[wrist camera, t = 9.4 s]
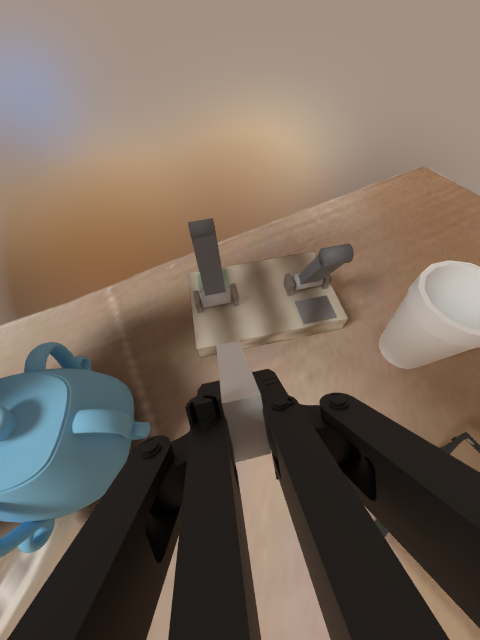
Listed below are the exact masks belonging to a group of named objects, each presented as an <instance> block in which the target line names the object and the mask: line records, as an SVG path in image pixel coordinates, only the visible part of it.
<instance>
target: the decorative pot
mask: <svg viewBox="0 0 480 640" xmlns="http://www.w3.org/2000/svg"><path fill="white" fill-rule="evenodd" d="M49 353H50V354H51V355H52V356H53V357H54V358H55V359H56V360H57V361H58V363H59V364H60V365H61V366H62V369H48V370H46V369H45V367H46V361H47V357H48V355H49ZM24 371H25V373H21V374H17V375H12V376H8V377H4V378H1V379H0V521H5V522H18V523H20V522H23V523H22V524H20V525H19V526H18V527H16V528H15V529H13V530H12V531H11V532H9V533H8V534H6V535H5V536H4V537H2V538H1V539H0V558H1V557H3V556H4V555H6V554H7V553H9V552H10V551H12V550H13V549H15V548H16V547H17V546H18V548H19V549H20V551H22V552H24V553H31V552H34V551H36V550H39V549H40V548H41V547H42V546H43V545H44V544H45V543H46V542H47V540H48V539H49V537H50V535H51V533H52V531H53V528H54V523H55V522H54V519H55V518H59V517H62V516H66V515H69V514H71V513H74V512H76V511H78V510H80V509H82V508H84V507H86V506H88V505H90V504H92V503H93V502H95V501H96V500H98V499H99V498H101V497H102V496H103V495H104V494H105V493H106V491H107V490H108V488H109V487H110V485H111V484H112V482H113V481H114V479H115V478H116V476H117V475H118V473H119V472H120V470H121V469H122V467H123V466H124V464H125V463H126V461H127V458H128V455H129V451H130V446H131V442H132V440H138V439H144V438H147V436H148V435H149V433H150V430H151V426H150V423H149V422H136V421H134V400H133V397H132V394H131V391H130V390H129V388H128V387H127V386H126V384H125V383H123V382H122V381H120V380H118V379H117V378H115V377H112V376H109V375H106V374H103V373H99V372H95V371H91V362H90V360H89V359H88V358H87V357H84V356H76V357H74V356H73V355H72V353H71V352H70V351H69V350H68V349H67V348H66V347H65V346H63V345H62V344H59V343H54V342H50V343H44V344H41V345H39V346H37V347H36V348H34V349H33V350H32V351H31V352H30V354H29V355H28V357H27V359H26V363H25V369H24Z"/></svg>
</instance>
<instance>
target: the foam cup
mask: <svg viewBox="0 0 480 640" xmlns="http://www.w3.org/2000/svg"><path fill="white" fill-rule="evenodd" d="M378 345H379V349H380V352H381V354H382V355H383V356H384V357H385V359H386V360H387V361H388V362H390V363H391V364H393V365H395V366H396V367H398V368H403V369H408V370H409V369H413V368H418V367H421V366H424V365H427V364H430V363H433V362H436V361H439V360H442V359H444V358H447V357H450V356H453V355H456V354H459V353H462V352H465V351H468V350H471V349H474V348H479V347H480V267H479V266H477V265H474V264H472V263H466V262H458V261H450V260H449V261H444V262H439V263H434V264H431V265H430V266H429V267H428V268H426V269H425V270H424V271H423V272H422V273H421V274H420V275H419V276H418V277H417V278H416V279H415V280H414V282H413V283H412V284H411V285H410V286H409V287H408V292H407V294H406V296H405V297H404V299H403V300H402V302H401V304H400V305H399V307H398V308H397V310H396V312H395V313H394V315H393V316H392V318H391V320H390V321H389V323H388V324H387V326H386V328H385V329H384V331H383V332H382V334H381V336H380V339H379V343H378Z"/></svg>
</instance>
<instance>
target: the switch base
mask: <svg viewBox="0 0 480 640" xmlns="http://www.w3.org/2000/svg"><path fill="white" fill-rule="evenodd" d="M316 257H317V256H316V254H315V253H314V251H312V252H306V253H300V254H295V255H289V256H284V257H278V258H273V259H267V260H262V261H256V262H251V263H245V264H240V265H234V266H229V267H223V268H222V273H223V279H224V285H225V287H228V288H229V293H230V298H231V303H226V304H221V305H216V306H211V307H205V308H204V305H203V300H202V295H201V292H202V291H204V289H203V284H202V280H201V276H200V272H195V273H190V274H188V281H189V290H190V298H191V306H192V315H193V323H194V332H195V340H196V348H197V351H198V353H199V355H200V357H205V356H210V355H214V354H217V349H216V345H221V344H225V343H230V342H235V341H240V344H241V346H242V349H244V348H249V347H254V346H259V345H263V344H268V343H273V342H278V341H283V340H288V339H293V338H298V337H303V336H308V335H312V334H317V333H322V332H327V331H332V330H337V329H342V327H343V326H344V324H345V323H346V321H347V319H348V317H347V315H346V313H345V311H344V309H343V307H342V306H341V304H340V302H339V300H338V298H337V296H336V294H335V292H334V290H333V288H332V286H331V284H330V281H331V279H332V278H331V276H330V274H329V275H327V276H326V277H325V278H323V284H322V285H321V286H315V287H310V288H305V289H300V290H294V288H295V284H294V281H293V279H292V275H293V274H299V273H301V272H302V271H303V270H304V269H305V268H306V267H307V266H308V265H309V264H310V263H311V262H312V261H313V260H314V259H315V258H316Z"/></svg>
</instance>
